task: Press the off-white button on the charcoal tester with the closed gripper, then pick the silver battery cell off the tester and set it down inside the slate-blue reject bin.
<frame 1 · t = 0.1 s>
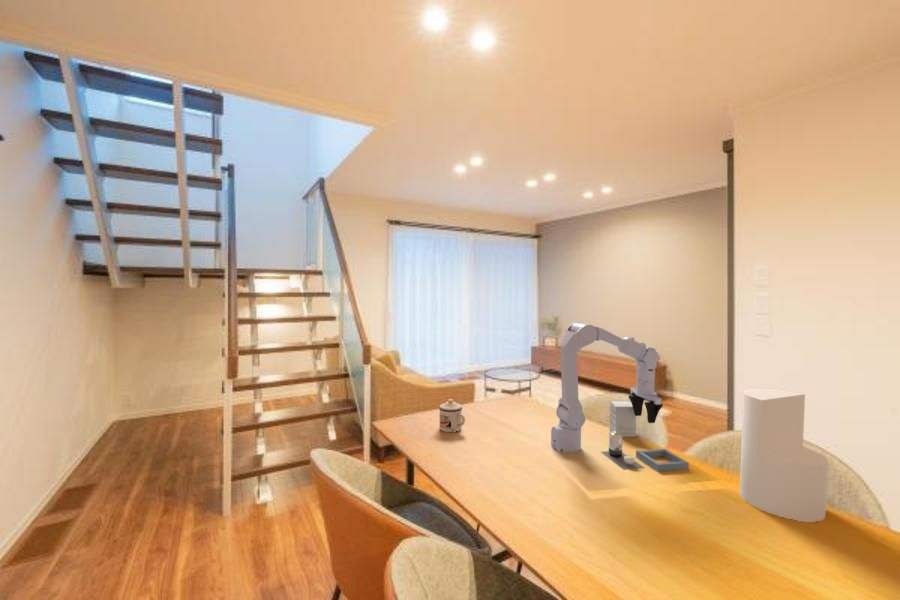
hand: (644, 419, 140), 10 cm above the table, tool pointing down, fingers open, 7 cm apart
battery cell: (615, 454, 130), point 1 cm above the table, touching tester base
white stepped block: (780, 503, 105), on the table
supplement box: (622, 437, 151), on the table
reject bin: (661, 467, 125), on the table
test button: (629, 459, 123), point 3 cm above the table, slide at 0.0 cm
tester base: (621, 464, 127), on the table
teacup with lid: (453, 430, 156), on the table
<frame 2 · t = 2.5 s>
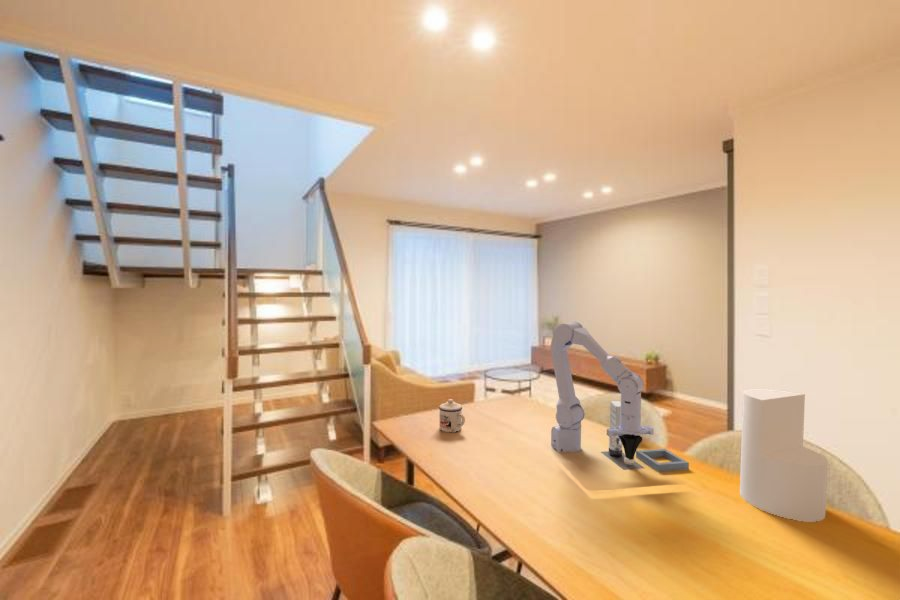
hand: (629, 458, 123), 4 cm above the table, tool pointing down, fingers closed, pressing on test button
test button: (629, 460, 123), point 3 cm above the table, slide at 0.3 cm, touching gripper
everything else where it was.
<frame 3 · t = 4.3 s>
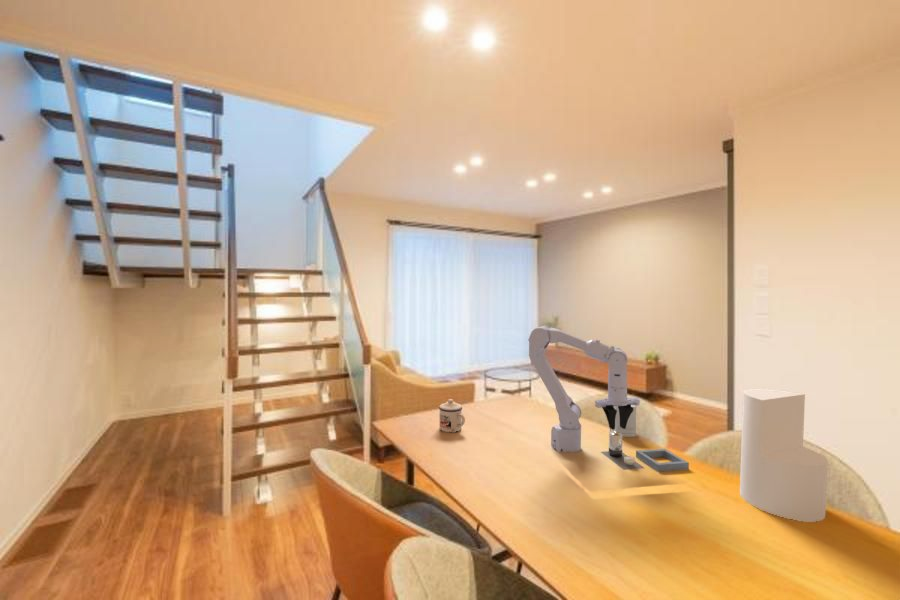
hand: (617, 428, 130), 10 cm above the table, tool pointing down, fingers open, 3 cm apart
test button: (629, 460, 123), point 3 cm above the table, slide at 0.3 cm
everything else where it was.
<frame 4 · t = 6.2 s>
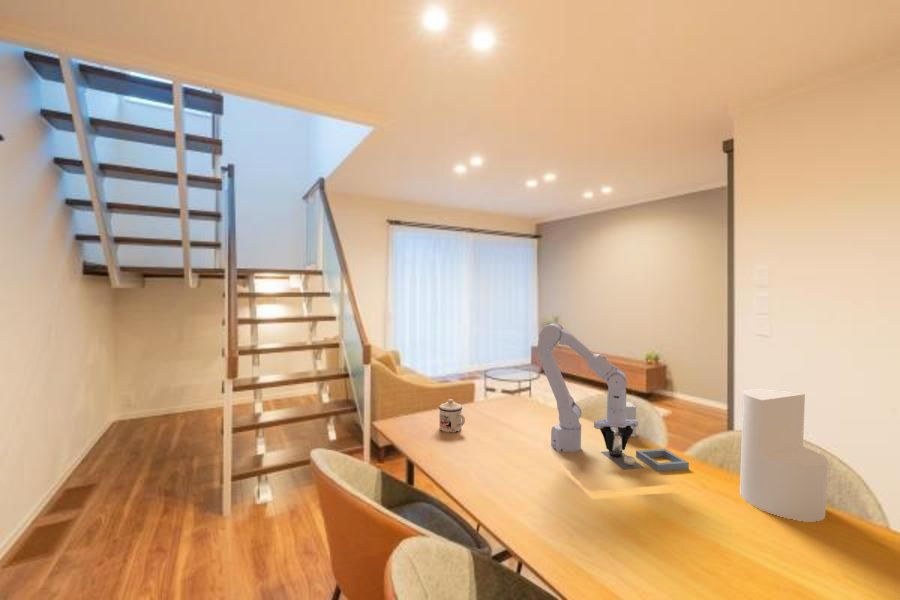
hand: (615, 449, 130), 3 cm above the table, tool pointing down, fingers closed on battery cell, 4 cm apart
battery cell: (615, 454, 130), point 1 cm above the table, touching gripper, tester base
everything else where it was.
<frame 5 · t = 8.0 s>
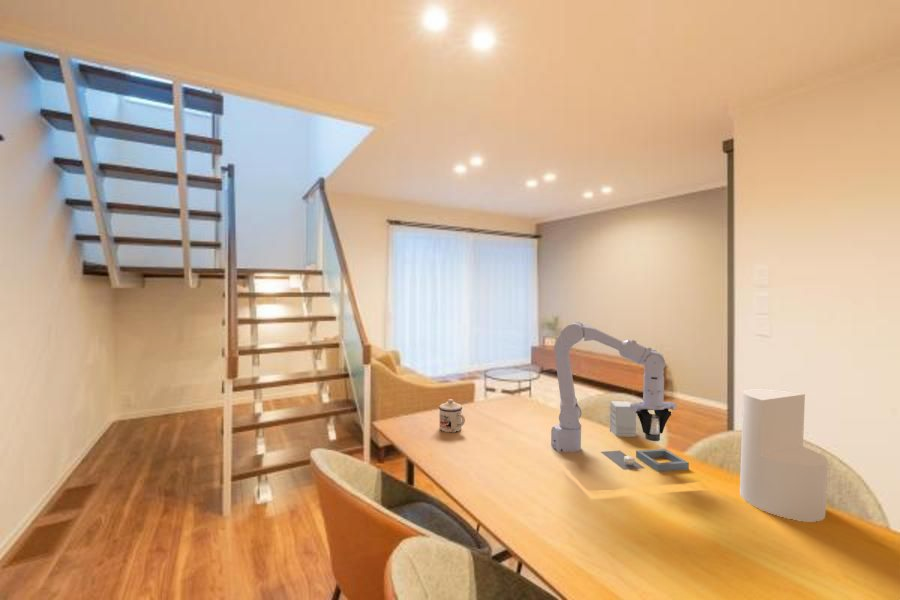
hand: (652, 432, 126), 11 cm above the table, tool pointing down, fingers closed on battery cell, 4 cm apart
battery cell: (652, 438, 126), point 9 cm above the table, touching gripper
everything else where it was.
when the fingers open (5 cm above the table, at t = 9.8 s): battery cell drops 1 cm, resting on reject bin.
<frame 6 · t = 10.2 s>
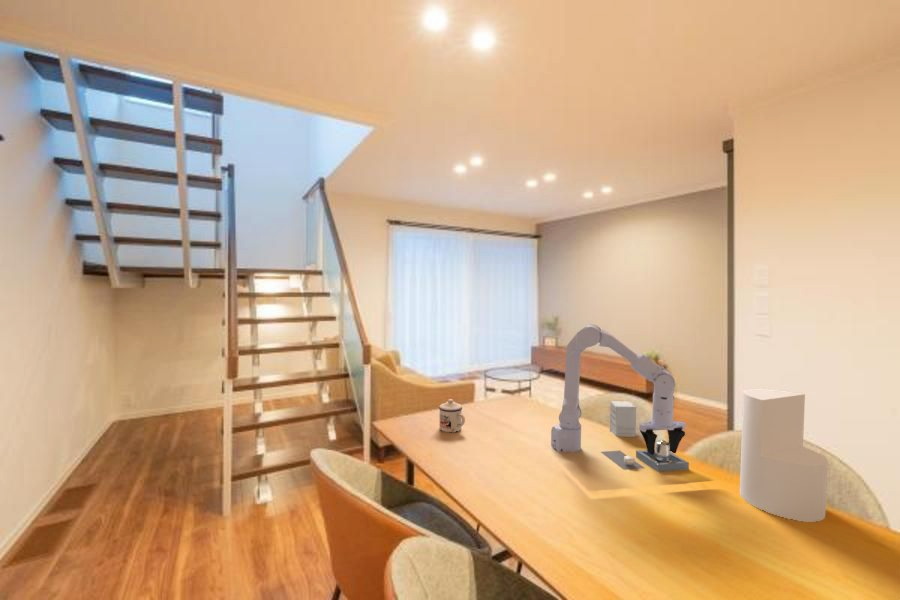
hand: (661, 452, 125), 5 cm above the table, tool pointing down, fingers open, 7 cm apart
battery cell: (661, 464, 125), point 1 cm above the table, touching reject bin
everything else where it was.
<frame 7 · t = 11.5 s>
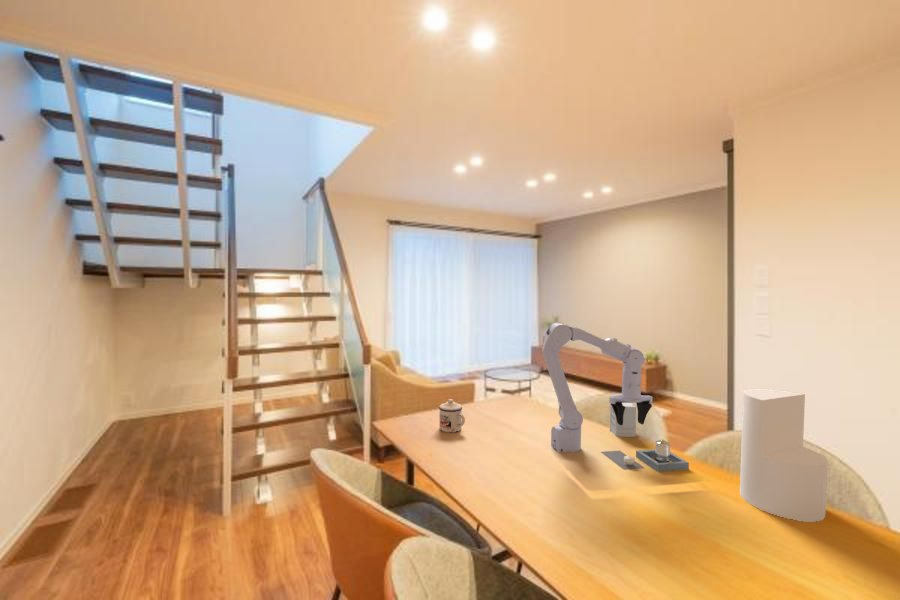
hand: (630, 423, 134), 10 cm above the table, tool pointing down, fingers open, 7 cm apart
nothing on the table moved.
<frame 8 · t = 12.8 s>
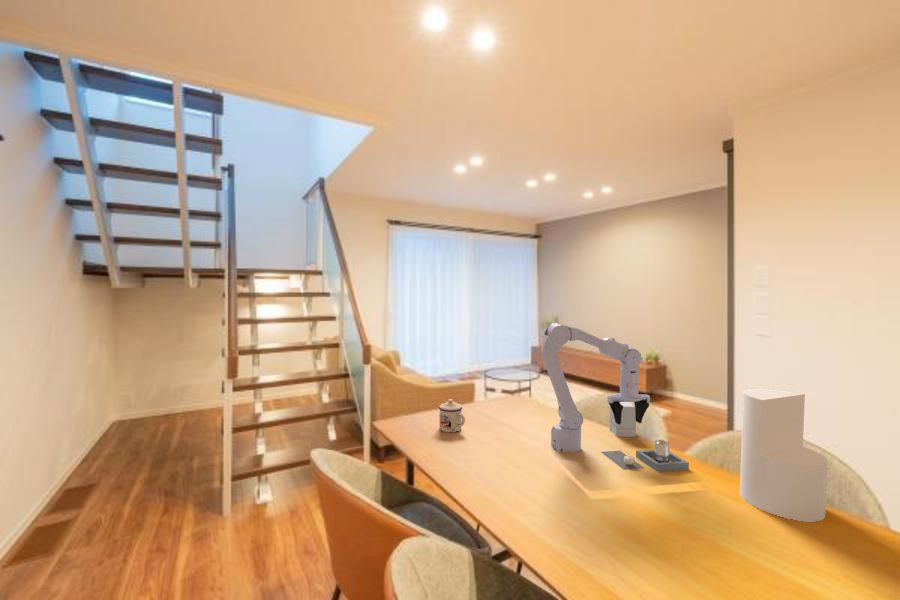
hand: (628, 422, 135), 10 cm above the table, tool pointing down, fingers open, 7 cm apart
nothing on the table moved.
at the end: battery cell inside the target area on the reject bin (0.2 cm from its centre), point 0.9 cm above the reject bin's base; the gripper is holding nothing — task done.
